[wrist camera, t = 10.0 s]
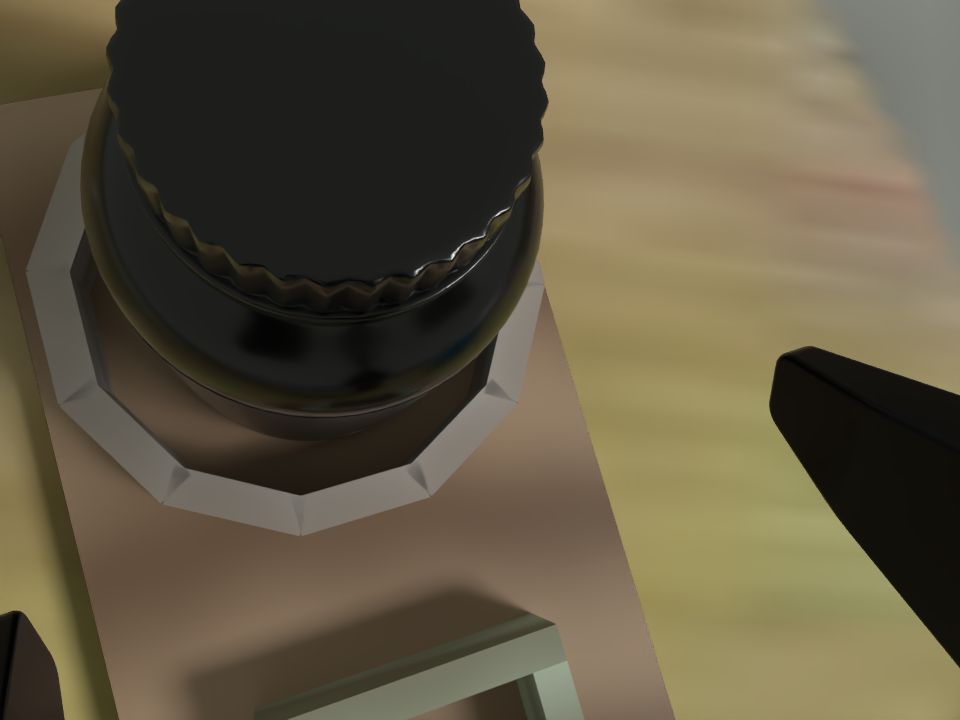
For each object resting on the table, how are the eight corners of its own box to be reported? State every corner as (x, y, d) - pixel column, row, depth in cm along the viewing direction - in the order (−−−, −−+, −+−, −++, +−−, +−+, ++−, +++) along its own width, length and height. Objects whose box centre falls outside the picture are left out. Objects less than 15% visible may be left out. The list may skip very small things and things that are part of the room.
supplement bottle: (122, 203, 20) (-86, -187, 9) (402, 140, 22) (531, -256, 11) (205, 487, 20) (99, 466, 8) (486, 399, 22) (720, 280, 10)
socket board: (727, 942, 22) (796, 1009, 19) (240, 1175, 19) (233, 1297, 16) (459, 46, 24) (483, -17, 21) (-16, 127, 21) (-63, 67, 18)
